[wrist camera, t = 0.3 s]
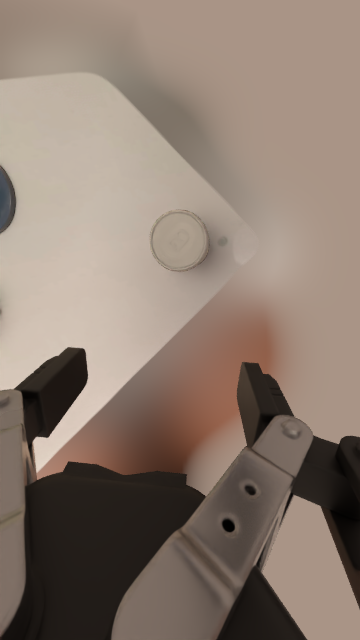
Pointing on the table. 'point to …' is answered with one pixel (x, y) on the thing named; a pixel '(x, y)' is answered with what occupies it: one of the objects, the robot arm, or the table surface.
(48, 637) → the robot arm
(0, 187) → the grapes
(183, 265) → the beverage can
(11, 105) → the table surface
